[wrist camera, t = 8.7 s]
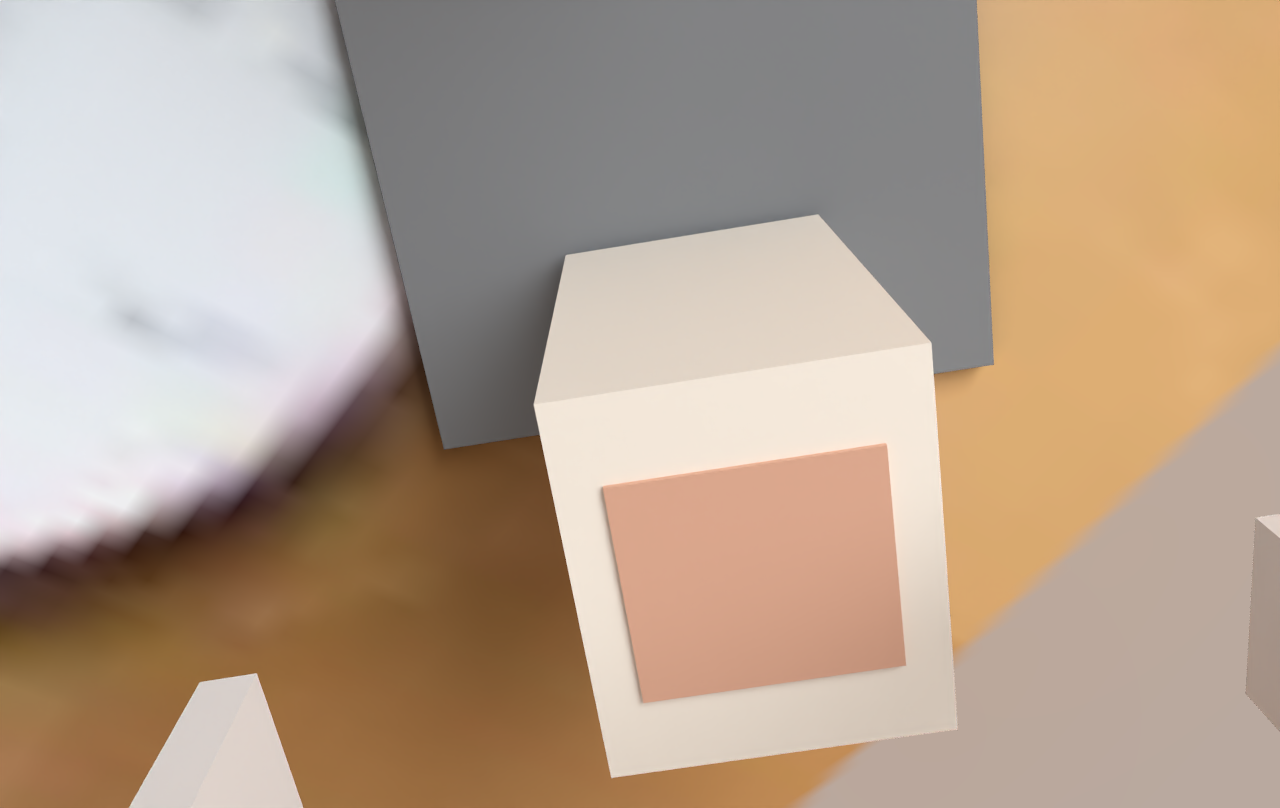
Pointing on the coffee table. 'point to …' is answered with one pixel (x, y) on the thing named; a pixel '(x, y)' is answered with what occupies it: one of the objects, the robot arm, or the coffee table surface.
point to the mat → (661, 159)
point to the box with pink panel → (747, 497)
